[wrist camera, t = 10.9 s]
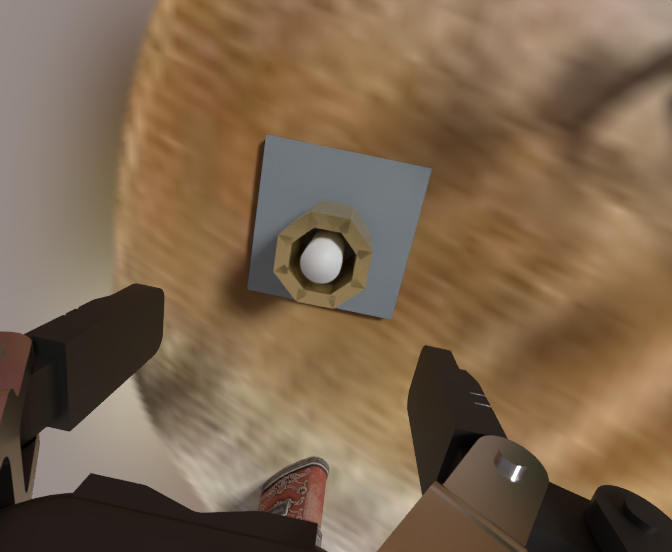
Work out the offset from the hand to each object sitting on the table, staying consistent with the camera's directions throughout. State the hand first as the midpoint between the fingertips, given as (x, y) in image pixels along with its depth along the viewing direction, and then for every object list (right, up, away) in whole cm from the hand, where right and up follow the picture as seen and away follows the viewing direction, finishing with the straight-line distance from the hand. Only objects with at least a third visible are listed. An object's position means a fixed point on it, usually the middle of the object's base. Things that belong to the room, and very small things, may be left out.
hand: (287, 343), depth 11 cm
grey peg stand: (+1, +6, +17) cm, 18 cm away
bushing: (+1, +5, +14) cm, 15 cm away
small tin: (-3, -19, +26) cm, 32 cm away
